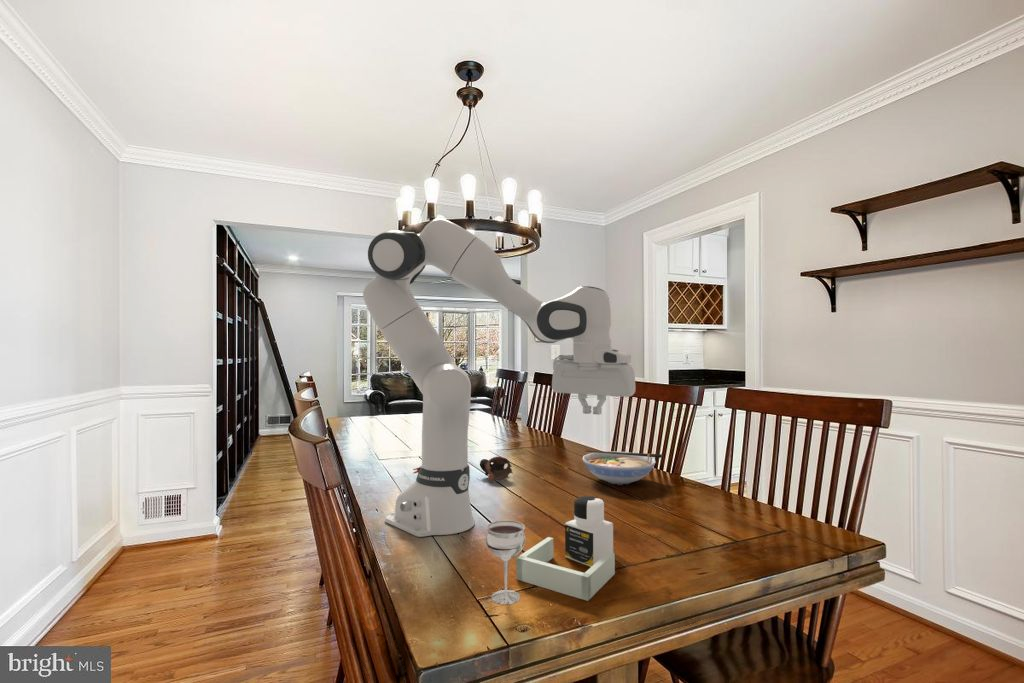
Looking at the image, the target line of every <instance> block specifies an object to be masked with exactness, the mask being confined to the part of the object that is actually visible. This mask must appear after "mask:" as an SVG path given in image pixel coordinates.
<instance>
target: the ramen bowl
mask: <svg viewBox="0 0 1024 683" xmlns="http://www.w3.org/2000/svg"><path fill="white" fill-rule="evenodd" d="M585 452H587V454H585V455H583V456H582V461H583V463H584V465H585V466H586V468H587V470H588V471H589V472H590V473H591V474H592V475H593V476H595V477H596V478H597V479H600V480H603V481H605V482H607V483H608V484H610V483H611V485H615V484H617V485H616V486H624V485H623V484H626V485H629V484H631V483H634V482H637V481H640V480H641V479H643V478H646V476H648V474H650V473H651V471H652V469H653V468H654V466H655V464H656V462H657V461H656V459H655V458H659V459H660V458H662V457H663V454H662V453H661V454H659V453H644V452H643V453H642V452H641V453H640V452H630V451H629V452H627V451H614V450H613V451H612V450H611V451H601V450H600V451H599V450H585ZM588 452H589V453H588Z"/></svg>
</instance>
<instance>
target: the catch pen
mask: <svg viewBox="0 0 1024 683" xmlns="http://www.w3.org/2000/svg"><path fill="white" fill-rule="evenodd" d="M615 557H616V555H615V552H614V551H613V552H607V553H606V554H605V555H604V556H603V557H602V558H601V559H600V560H598V561H597V562H596V563H595V564H594V565H593V566H592V567H589V568H588V569H587V570H586V571H585V572H582V571H579V570H575V569H571V568H567V567H564V566H560V565H556V564H552V563H550V561H551V560H552V559H554V538H553V537H550V536H547V537H546V538H544V539H543V540H542V541H540V542H538V543H537V544H535V545H534V546H532V547H531V548H529V549H527V550H526V551H525V552H523V553H521V554H520V555H517V556H516V563H515V564H516V565H515V566H516V570H515V571H516V580H518V581H520V582H524V583H528V584H531V585H534V586H537V587H540V588H544V589H547V590H550V591H553V592H557V593H559V594H563V595H566V596H569V597H573V598H577V599H579V600H583V601H586V602H588V601H590V600H591V599H592V598H593V597H594V596H595V594H597V593H598V592H599V590H601V588H603V586H604V585H605V584H606V583H608V581H609V580H611V579H612V577H613V576H615V574H616V571H615V570H616V567H615V566H616V562H615V561H616V560H615V559H616V558H615Z"/></svg>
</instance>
